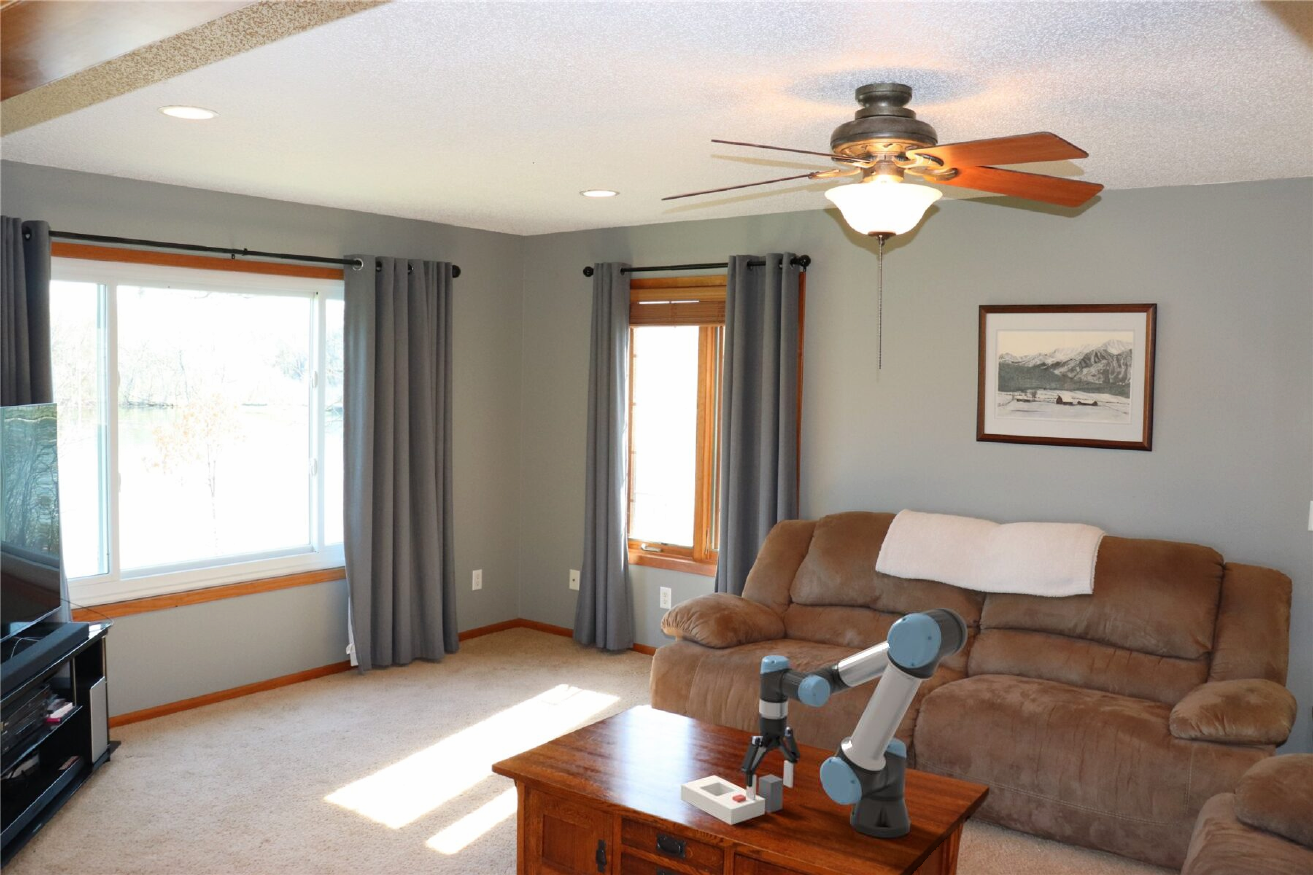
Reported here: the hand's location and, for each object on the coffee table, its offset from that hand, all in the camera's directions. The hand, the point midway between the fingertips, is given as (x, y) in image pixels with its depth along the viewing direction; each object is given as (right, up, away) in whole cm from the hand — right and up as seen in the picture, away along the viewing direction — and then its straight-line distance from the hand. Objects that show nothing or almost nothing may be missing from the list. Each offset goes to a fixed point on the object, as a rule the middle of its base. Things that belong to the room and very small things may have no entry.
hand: (769, 792), depth 279 cm
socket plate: (-13, -4, 0) cm, 13 cm away
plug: (0, -4, 0) cm, 4 cm away
